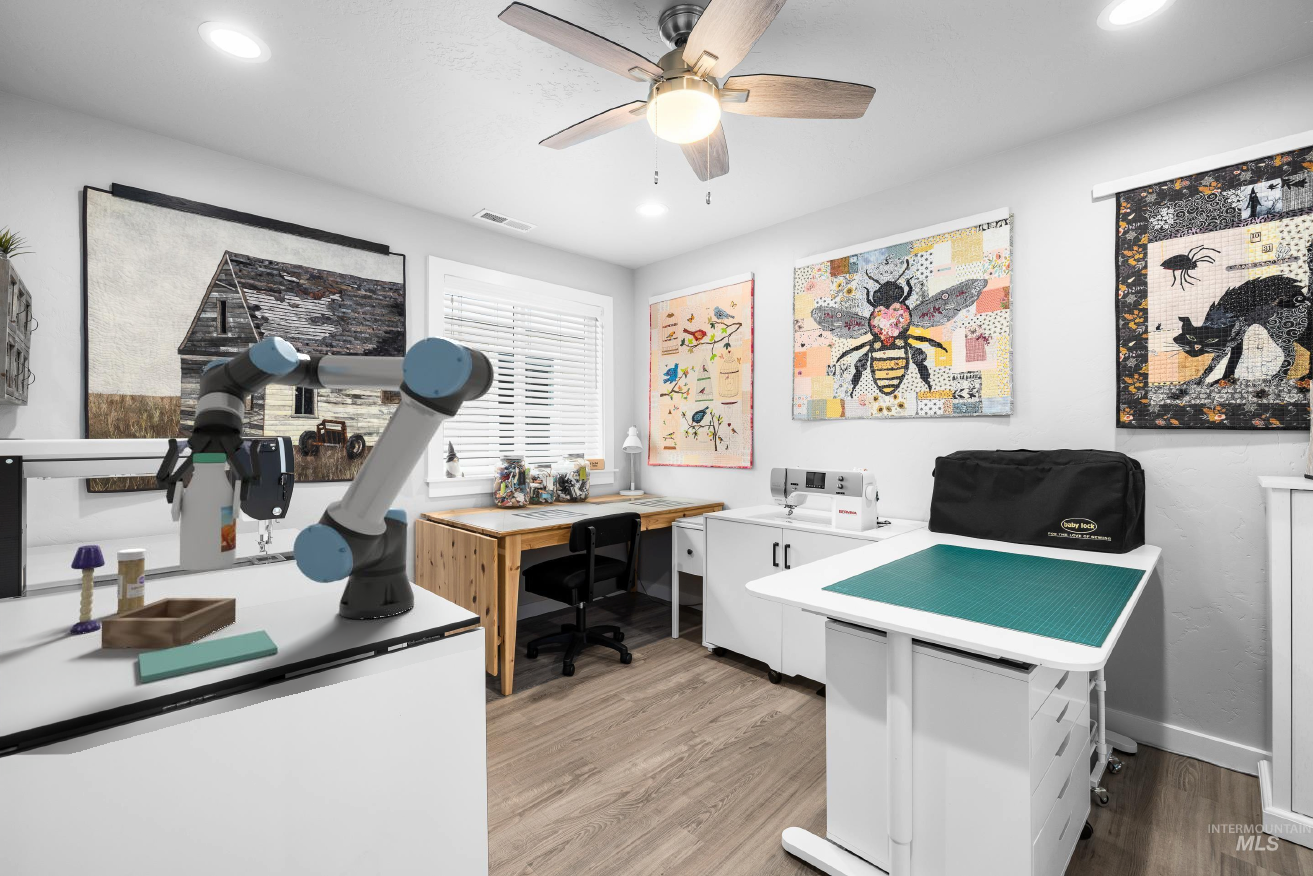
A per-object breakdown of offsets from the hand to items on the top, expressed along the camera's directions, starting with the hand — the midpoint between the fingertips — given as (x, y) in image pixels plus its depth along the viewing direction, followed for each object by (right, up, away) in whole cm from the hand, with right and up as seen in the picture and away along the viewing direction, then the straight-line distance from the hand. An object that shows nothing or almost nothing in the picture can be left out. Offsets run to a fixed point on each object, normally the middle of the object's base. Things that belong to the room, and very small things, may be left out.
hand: (206, 514), depth 95 cm
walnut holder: (-17, -25, +13) cm, 33 cm away
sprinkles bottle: (-38, -25, +26) cm, 52 cm away
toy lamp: (-35, -25, +14) cm, 46 cm away
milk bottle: (-2, -10, +3) cm, 10 cm away
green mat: (-2, -25, +3) cm, 26 cm away
